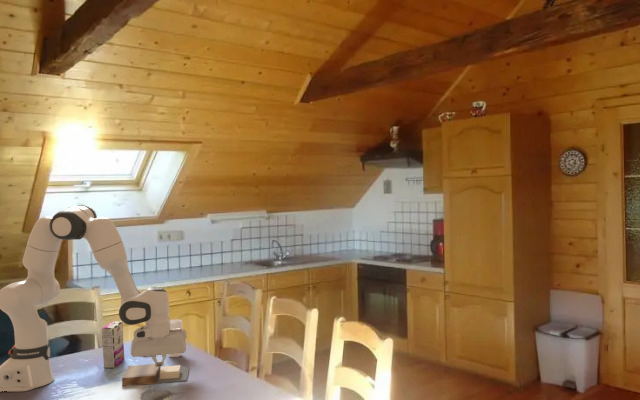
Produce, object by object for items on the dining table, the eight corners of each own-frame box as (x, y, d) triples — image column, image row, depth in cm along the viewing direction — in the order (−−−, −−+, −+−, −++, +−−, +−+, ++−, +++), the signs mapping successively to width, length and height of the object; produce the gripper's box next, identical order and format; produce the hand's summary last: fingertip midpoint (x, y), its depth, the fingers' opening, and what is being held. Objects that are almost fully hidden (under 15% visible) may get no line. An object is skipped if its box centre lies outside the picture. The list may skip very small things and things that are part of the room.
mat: (156, 383, 209) (156, 382, 209) (160, 371, 223) (160, 370, 223) (186, 381, 211) (186, 379, 211) (189, 368, 225) (189, 367, 225)
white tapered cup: (166, 354, 244) (165, 319, 244) (182, 352, 246) (181, 318, 246) (167, 359, 238) (166, 323, 237) (183, 357, 240) (182, 322, 239)
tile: (159, 379, 212) (159, 372, 212) (162, 372, 219) (161, 366, 219) (179, 377, 213) (178, 371, 213) (180, 371, 220) (180, 365, 220)
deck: (122, 386, 207) (121, 378, 207) (128, 373, 221) (128, 365, 221) (156, 383, 209) (156, 375, 209) (160, 371, 223) (160, 363, 223)
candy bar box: (112, 359, 239) (111, 321, 238) (124, 359, 239) (123, 320, 238) (102, 368, 228) (101, 328, 227) (115, 368, 228) (113, 327, 227)
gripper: (186, 325, 220) (188, 361, 221) (131, 329, 217) (133, 365, 217) (185, 330, 214) (187, 366, 214) (129, 334, 210) (130, 370, 211)
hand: (159, 366), depth 216 cm, fingers closed
